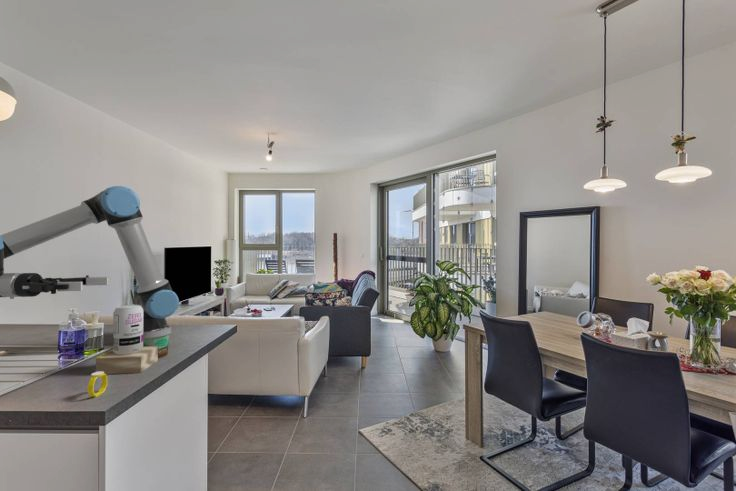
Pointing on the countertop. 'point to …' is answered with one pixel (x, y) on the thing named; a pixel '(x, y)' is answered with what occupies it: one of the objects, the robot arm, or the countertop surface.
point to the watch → (92, 381)
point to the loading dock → (127, 361)
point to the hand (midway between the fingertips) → (95, 283)
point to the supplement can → (127, 329)
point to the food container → (158, 339)
